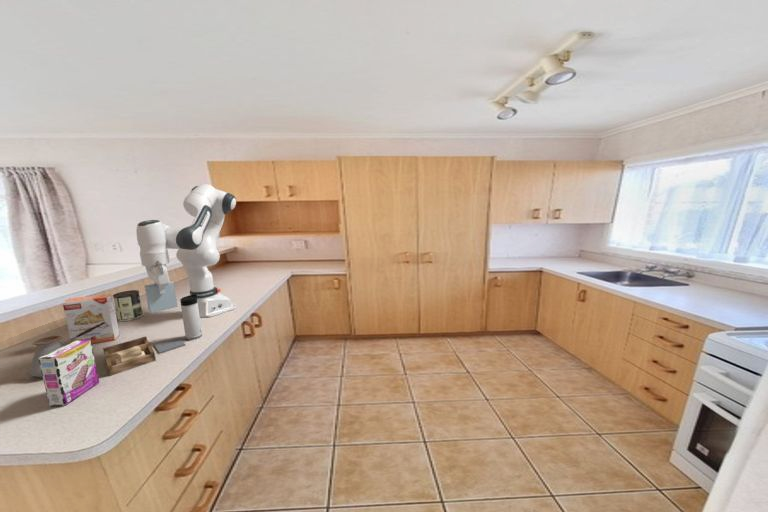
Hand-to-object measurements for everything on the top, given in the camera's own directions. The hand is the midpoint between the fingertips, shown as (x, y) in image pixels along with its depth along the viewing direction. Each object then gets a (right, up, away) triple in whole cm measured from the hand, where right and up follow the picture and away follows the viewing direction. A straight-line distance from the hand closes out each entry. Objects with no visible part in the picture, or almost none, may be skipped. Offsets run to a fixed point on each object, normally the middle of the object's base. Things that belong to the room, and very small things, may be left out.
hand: (160, 291), depth 113 cm
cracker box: (-36, -24, +8) cm, 44 cm away
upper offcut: (-3, -24, -10) cm, 26 cm away
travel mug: (+6, -23, +12) cm, 27 cm away
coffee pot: (-25, -28, -10) cm, 38 cm away
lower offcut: (-3, -27, -9) cm, 29 cm away
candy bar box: (-6, -30, -25) cm, 40 cm away
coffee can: (-45, -19, +34) cm, 60 cm away
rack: (-7, -27, -6) cm, 28 cm away
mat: (0, -24, +5) cm, 25 cm away
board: (0, -8, +1) cm, 8 cm away
